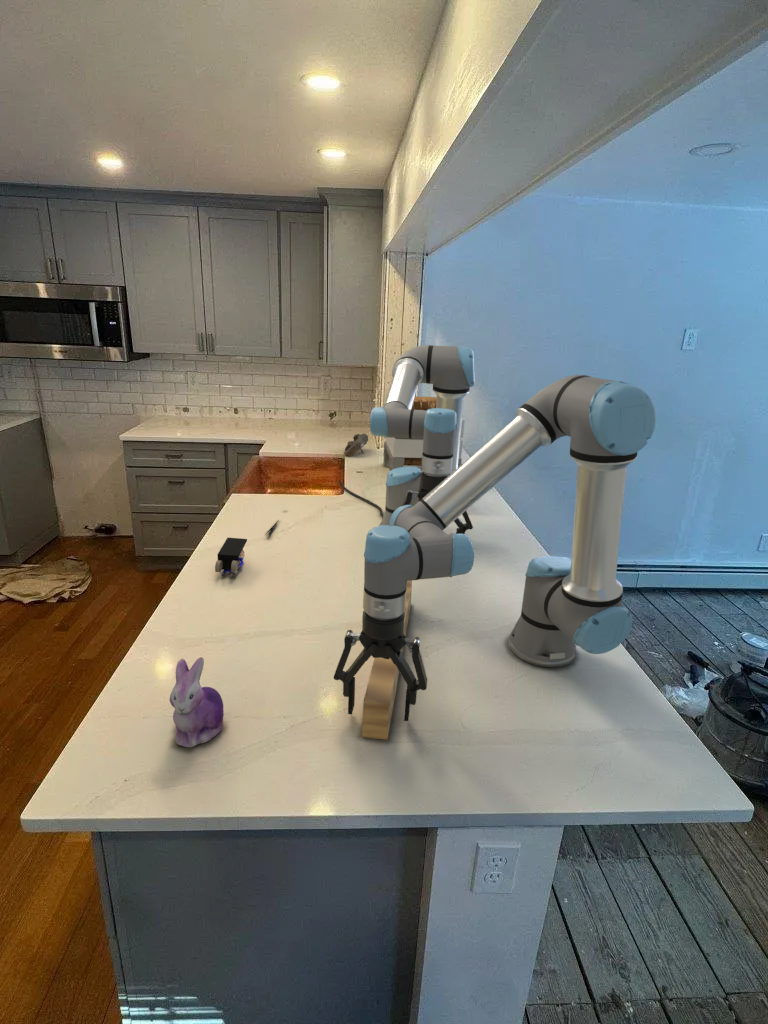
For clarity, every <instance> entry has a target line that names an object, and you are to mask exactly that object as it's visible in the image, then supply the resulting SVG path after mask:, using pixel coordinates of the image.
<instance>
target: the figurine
mask: <svg viewBox="0 0 768 1024" xmlns="http://www.w3.org/2000/svg"><path fill="white" fill-rule="evenodd" d="M204 665H205V659H204V658H203V657H199V658H197V659H196V660H195V662H194V663H193V664H192V666H191V667H190V669H189V666H188V664H187V661H186V660H185V659H184V658H181V659H179V660H178V661H177V663H176V666H175V684H174V686H173V687H172V690H171V692H170V695H169V704H170V705H171V706H172V707H173V708H174V710H173V713H172V720H173V724H174V726H175V729H176V736H175V743H176V745H179V746H182V747H185V748H193V747H195V746H197V745H199V744H205V743H207V742H208V741H210V740H212V739H214V737H216V736H218V734H219V733H220V732H221V731H222V729H223V726H224V715H225V714H224V701H223V698H222V696H221V694H220V693H219V692H218V690H217V689H216V688H213V687H210V686H201V683H200V680H201V676H202V674H203V670H204Z"/></svg>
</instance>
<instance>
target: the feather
mask: <svg viewBox="0 0 768 1024" xmlns="http://www.w3.org/2000/svg"><path fill="white" fill-rule="evenodd" d="M278 522H279V520H277V521H276V522H275V523H274V524H273V525H272V526H271V527H270V529H268V531H267V532H266V533H265V535H268V536H267V537H268V539H269V538H270V536H271V534H272V533H273V531H274V529H275V527H276V525H277V524H278Z"/></svg>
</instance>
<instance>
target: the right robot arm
mask: <svg viewBox="0 0 768 1024" xmlns="http://www.w3.org/2000/svg"><path fill="white" fill-rule="evenodd" d="M656 425H657V412H656V408H655V404H654V402H653V401H652V399H651V397H650V396H649V395H648V394H647V393H646V392H645V390H643V389H642V388H640V387H638V386H635V385H633V384H632V385H631V384H630V383H627V382H624V381H621V380H613V379H608V378H600V377H595V376H594V377H593V376H590V375H587V374H573V375H569V376H565V377H563V378H560V379H558V380H556V381H553V382H552V383H550V384H549V385H547V386H545V387H543V388H542V389H541V390H539V391H538V392H537V393H536V394H534V395H533V396H531V397H530V398H529V399H528V400H526V401H525V402H524V403H523V404H522V405H520V406H519V407H518V408H517V409H516V410H515V417H514V418H513V419H512V420H511V421H510V422H509V423H507V424H506V426H504V427H503V428H502V429H501V430H499V432H497V433H496V434H494V436H493V437H491V438H490V439H489V440H488V441H487V442H486V443H485V444H483V445H482V446H481V447H480V448H479V449H477V451H476V452H474V453H473V454H472V455H470V457H469V458H467V459H466V460H465V461H464V462H463V463H461V466H459V467H458V468H457V469H456V470H455V471H454V472H453V473H451V474H450V475H449V476H448V477H447V478H446V479H444V480H443V481H442V482H441V483H440V484H439V485H438V486H436V487H435V488H434V489H433V490H432V491H431V492H429V493H428V494H427V495H426V496H425V497H424V498H423V499H421V500H420V501H419V502H418V503H417V504H415V505H414V506H413V505H404V506H401V507H399V508H397V509H396V510H395V511H394V512H393V514H392V516H391V518H390V526H389V525H382V526H380V525H377V526H374V527H372V528H371V529H369V531H368V532H367V534H366V538H365V545H364V553H363V557H364V564H363V565H364V567H363V569H364V572H363V574H364V575H363V580H364V582H363V597H362V598H363V599H362V609H363V611H362V621H361V622H362V625H361V627H362V628H361V631H360V633H359V632H354V631H353V630H352V629H347V631H346V632H345V635H344V639H343V640H344V641H343V642H344V647H343V651H342V653H341V656H340V658H339V661H338V663H337V666H336V669H335V671H334V674H333V680H335V681H341V682H342V695H343V697H346V698H347V699H348V701H347V702H348V703H347V714H348V715H353V711H354V708H355V701H356V697H355V696H356V677H355V676H356V675H357V673H358V672H359V671H360V670H361V668H362V667H363V666H364V664H365V663H366V662H368V660H369V659H371V657H372V658H380V657H381V658H384V659H390V658H391V660H392V662H393V663H394V664H395V665H396V666H397V668H398V670H399V674H400V676H401V677H402V679H403V680H404V682H405V684H406V690H405V700H404V701H405V703H404V716H403V717H404V718H403V721H404V722H409V719H410V718H409V717H410V707H411V705H412V706H415V705H416V704H417V697H418V696H417V693H418V691H419V690H421V691H426V690H427V687H428V677H427V673H426V669H425V665H424V662H423V658H422V653H421V650H420V645H421V638H420V637H419V636H415V637H414V638H407V637H406V636H405V635H404V617H405V614H404V611H405V602H406V588H407V587H406V586H407V581H411V580H412V581H418V580H419V581H420V580H429V579H430V580H431V579H441V578H453V577H457V576H462V575H467V574H469V572H471V571H472V568H473V566H474V564H475V563H474V561H475V549H474V546H473V545H474V544H473V543H472V540H471V539H470V537H469V536H468V535H467V534H466V533H465V534H456V533H455V532H452V533H445V529H446V528H447V527H448V526H450V525H451V524H452V523H454V520H456V519H457V518H460V516H461V515H463V514H462V513H464V512H465V511H467V510H468V509H470V508H471V507H472V506H473V505H474V504H476V503H477V502H478V501H479V500H480V499H481V498H482V497H484V496H485V495H486V494H487V493H488V492H489V491H491V490H492V489H493V488H494V487H496V485H498V484H499V483H500V482H501V481H502V480H503V479H505V477H507V476H508V475H509V474H510V473H512V472H513V471H514V470H515V469H516V468H517V467H519V466H520V465H521V464H522V463H523V462H524V461H525V460H527V459H528V458H529V457H530V456H531V455H532V454H534V453H535V452H536V451H537V450H539V448H541V447H550V445H552V444H553V443H554V442H555V441H557V440H558V439H561V438H562V437H563V438H564V437H570V441H569V457H570V458H571V460H573V461H574V462H575V463H576V465H577V467H576V484H575V499H574V513H573V529H572V544H571V556H570V557H571V558H569V557H564V556H558V555H543V556H537V557H534V558H532V559H531V560H530V561H529V562H528V565H527V568H526V572H525V583H524V587H523V596H522V604H521V609H520V610H521V611H520V615H519V617H518V619H517V621H516V623H515V625H514V627H513V628H512V630H511V631H510V635H509V639H508V646H509V649H510V651H511V652H512V654H514V655H515V656H516V657H517V658H519V659H520V660H522V661H524V662H526V663H529V664H530V665H533V666H538V667H543V668H562V667H565V666H567V665H569V664H571V663H572V662H573V661H574V660H575V658H576V653H577V647H579V648H581V649H582V650H583V651H584V652H586V653H589V654H591V655H603V654H607V653H608V652H610V651H613V650H614V649H616V648H617V647H619V646H620V645H621V644H622V643H623V642H624V641H625V640H626V638H628V636H629V634H630V633H631V630H632V628H633V621H634V619H633V616H632V614H631V612H630V611H629V609H628V608H626V607H625V606H623V605H622V604H623V603H622V602H623V594H624V593H623V592H624V587H623V584H622V583H621V582H620V581H619V580H618V579H617V571H618V559H619V551H620V541H621V530H622V520H623V511H624V510H623V509H624V498H625V491H626V490H625V489H626V481H627V480H626V479H627V469H628V466H629V465H630V464H632V463H633V462H634V461H635V460H637V458H638V452H639V451H642V450H643V449H644V448H645V447H646V446H647V444H648V440H649V439H651V438H652V437H653V434H654V432H655V428H656ZM358 641H359V642H360V644H361V645H362V646H363V649H362V650H361V652H360V653H359V654H358V656H357V657H356V658H355V659H354V661H353V662H352V664H351V665H350V666H349V667H348V668H347V669H346V670H344V669H345V666H346V663H347V661H348V658H349V656H350V653H351V650H352V647H354V646H355V645H356V644H357V642H358ZM404 647H407V650H408V652H409V653H411V659H412V662H413V666H414V667H413V668H414V670H415V673H414V672H413V671H412V668H411V667H410V666H409V664H408V661H407V660H406V658H405V657H404V655H403V653H402V651H401V649H402V648H403V649H404ZM415 674H416V676H415Z"/></svg>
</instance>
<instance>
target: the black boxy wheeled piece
mask: <svg viewBox="0 0 768 1024" xmlns="http://www.w3.org/2000/svg"><path fill="white" fill-rule="evenodd" d="M247 542H248V538H240V537H226V539H225V541H224V543H223V544H222V546H221V547H220V549H219V551H218V552H217V560H216V562H215V564H214V572H215V573H221V577H222V578H224V577H225V576H226V574H227V573H230V574H231V573H232V574H231V578H234V577H235V575H236V573H237V572H239V571H240V567H242V566H243V565H244V564H245V562H244V558H245V551H244V547H245V546H246V544H247Z"/></svg>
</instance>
